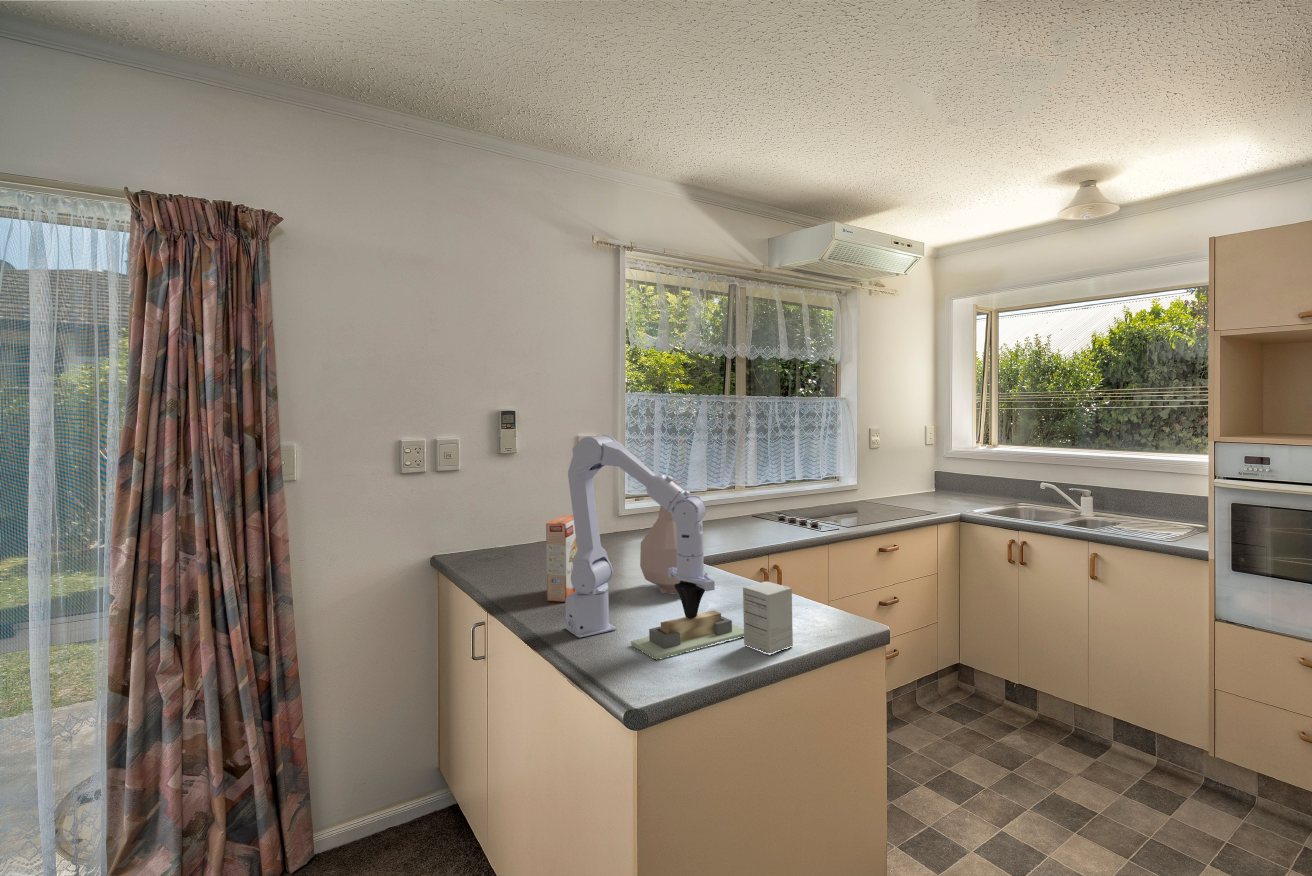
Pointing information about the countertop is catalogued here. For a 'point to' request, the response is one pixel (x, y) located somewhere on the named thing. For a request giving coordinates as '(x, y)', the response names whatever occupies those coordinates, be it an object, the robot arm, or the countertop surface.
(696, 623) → the slat
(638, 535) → the countertop surface
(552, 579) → the cracker box
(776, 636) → the supplement box
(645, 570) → the vase
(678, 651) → the board
